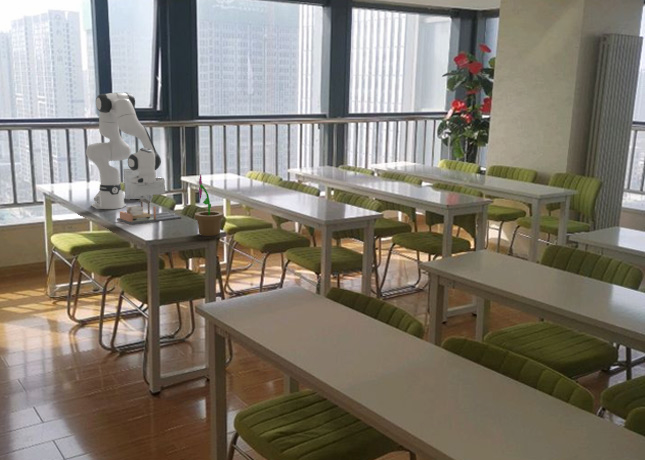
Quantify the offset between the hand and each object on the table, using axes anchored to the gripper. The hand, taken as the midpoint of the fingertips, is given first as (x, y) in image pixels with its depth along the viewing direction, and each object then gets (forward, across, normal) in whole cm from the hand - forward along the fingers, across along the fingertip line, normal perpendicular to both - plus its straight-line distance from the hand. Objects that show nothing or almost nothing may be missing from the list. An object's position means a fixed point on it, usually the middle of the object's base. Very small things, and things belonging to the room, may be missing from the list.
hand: (148, 203), depth 390 cm
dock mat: (+9, 0, 0) cm, 9 cm away
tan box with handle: (+8, +7, 0) cm, 10 cm away
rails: (+9, 0, 0) cm, 9 cm away
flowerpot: (+9, -5, +53) cm, 54 cm away
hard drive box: (+9, -29, -67) cm, 73 cm away
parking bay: (+8, +7, 0) cm, 11 cm away
